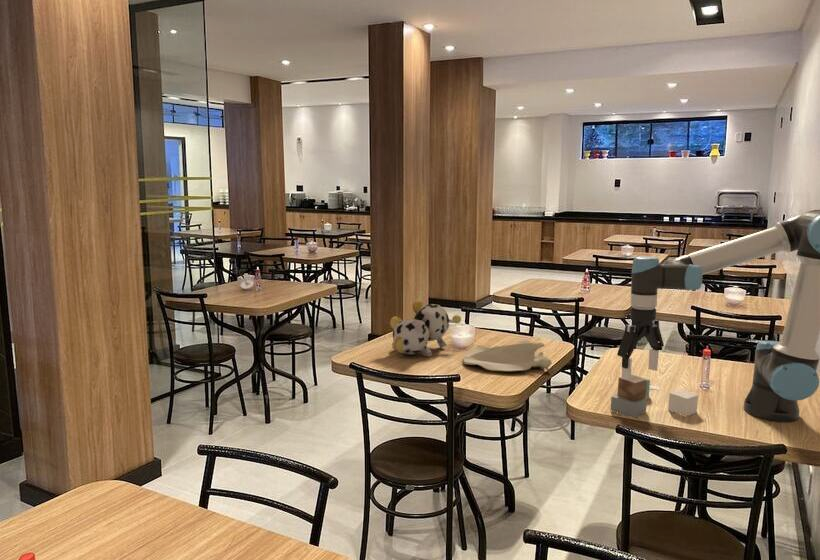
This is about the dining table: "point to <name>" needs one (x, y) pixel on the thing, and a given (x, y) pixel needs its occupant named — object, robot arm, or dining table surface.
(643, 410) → the platform block
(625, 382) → the walnut cube
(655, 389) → the phone stand
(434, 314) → the toy
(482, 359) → the beige wavy platter
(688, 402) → the white cube
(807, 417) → the dining table surface
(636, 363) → the dining table surface
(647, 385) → the teal cube
